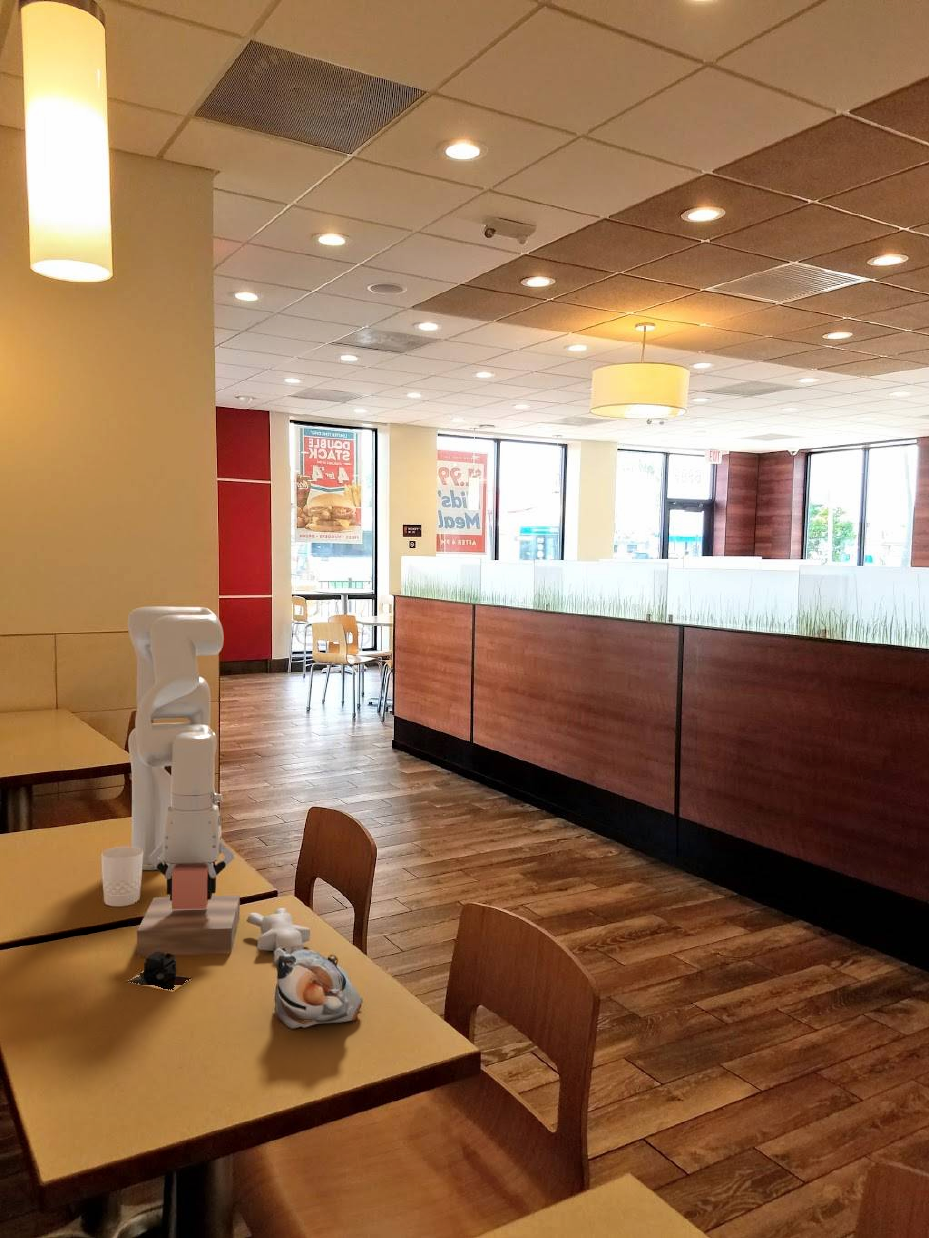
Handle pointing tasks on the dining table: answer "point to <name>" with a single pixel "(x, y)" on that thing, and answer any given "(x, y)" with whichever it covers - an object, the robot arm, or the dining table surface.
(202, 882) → the red block
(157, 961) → the black boxy gadget
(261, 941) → the bunny figurine
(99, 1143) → the dining table surface
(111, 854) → the white cup
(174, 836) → the robot arm
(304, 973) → the lucky cat figurine
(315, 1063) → the dining table surface
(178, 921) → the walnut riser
